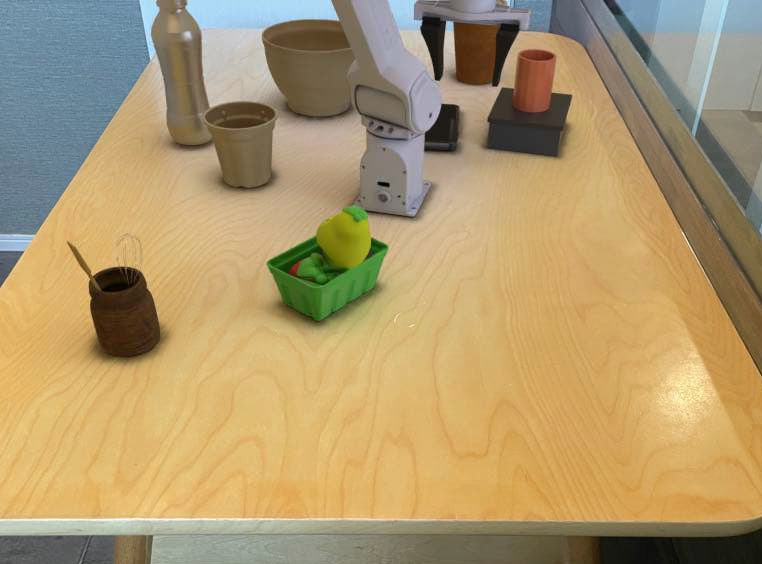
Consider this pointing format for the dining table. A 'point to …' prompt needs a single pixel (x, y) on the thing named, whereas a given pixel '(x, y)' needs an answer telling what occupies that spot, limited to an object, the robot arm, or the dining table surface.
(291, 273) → the fruit basket
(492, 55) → the disposable coffee cup
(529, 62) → the cup
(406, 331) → the dining table surface
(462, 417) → the dining table surface
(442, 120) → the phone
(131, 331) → the utensil holder
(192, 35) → the plastic bottle
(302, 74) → the planter bowl
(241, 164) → the flower pot
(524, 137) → the container
